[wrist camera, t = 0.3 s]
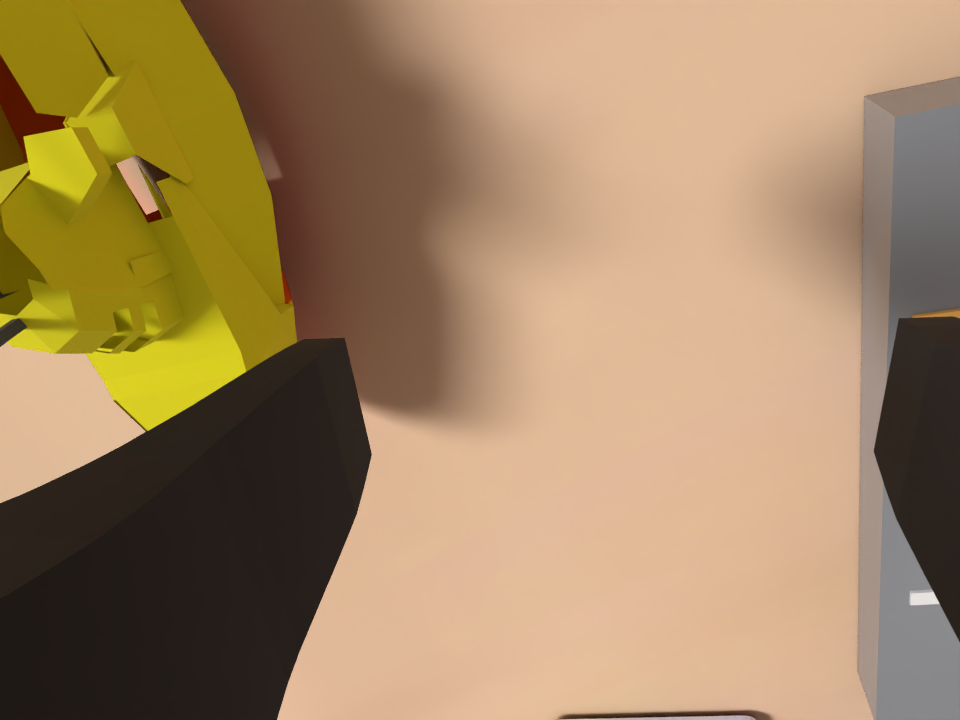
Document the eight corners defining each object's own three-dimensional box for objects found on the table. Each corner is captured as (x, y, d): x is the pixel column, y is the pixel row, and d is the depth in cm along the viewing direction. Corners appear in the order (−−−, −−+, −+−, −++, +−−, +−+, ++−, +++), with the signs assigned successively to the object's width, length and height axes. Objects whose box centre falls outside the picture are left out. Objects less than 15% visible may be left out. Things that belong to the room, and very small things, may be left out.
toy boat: (89, -392, 14) (-675, -855, 6) (405, 381, 22) (288, 665, 14) (-152, -257, 16) (-1017, -457, 7) (225, 416, 24) (23, 687, 16)
